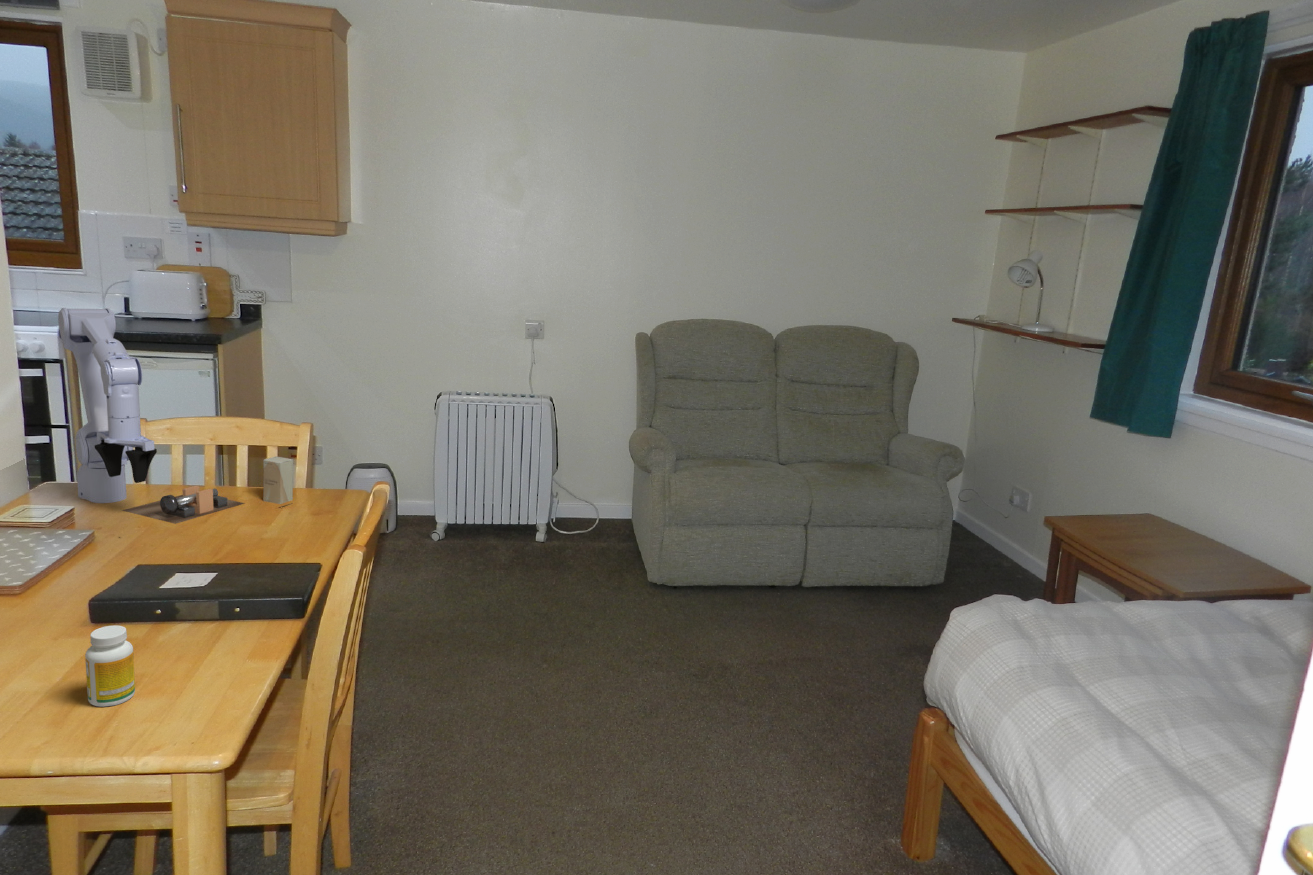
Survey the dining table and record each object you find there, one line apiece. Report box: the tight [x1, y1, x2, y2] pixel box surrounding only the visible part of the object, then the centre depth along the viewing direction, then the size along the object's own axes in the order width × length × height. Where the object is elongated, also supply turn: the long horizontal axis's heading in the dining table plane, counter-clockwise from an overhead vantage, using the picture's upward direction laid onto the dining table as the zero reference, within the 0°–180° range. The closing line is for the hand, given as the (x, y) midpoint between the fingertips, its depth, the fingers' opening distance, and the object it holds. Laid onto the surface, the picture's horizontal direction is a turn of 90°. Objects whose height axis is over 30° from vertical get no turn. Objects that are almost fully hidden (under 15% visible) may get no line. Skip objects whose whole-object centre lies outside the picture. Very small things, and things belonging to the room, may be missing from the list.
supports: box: [170, 495, 228, 518], centre depth 186 cm, size 5×11×2 cm, turn 158°
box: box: [262, 456, 294, 509], centre depth 196 cm, size 5×4×11 cm
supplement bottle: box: [84, 624, 136, 708], centre depth 112 cm, size 5×5×10 cm
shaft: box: [159, 488, 219, 514], centre depth 184 cm, size 4×12×4 cm, turn 158°
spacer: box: [182, 485, 214, 514], centre depth 186 cm, size 5×4×5 cm
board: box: [121, 494, 246, 525], centre depth 188 cm, size 16×18×1 cm
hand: (127, 478), depth 177 cm, fingers open, 7 cm apart
